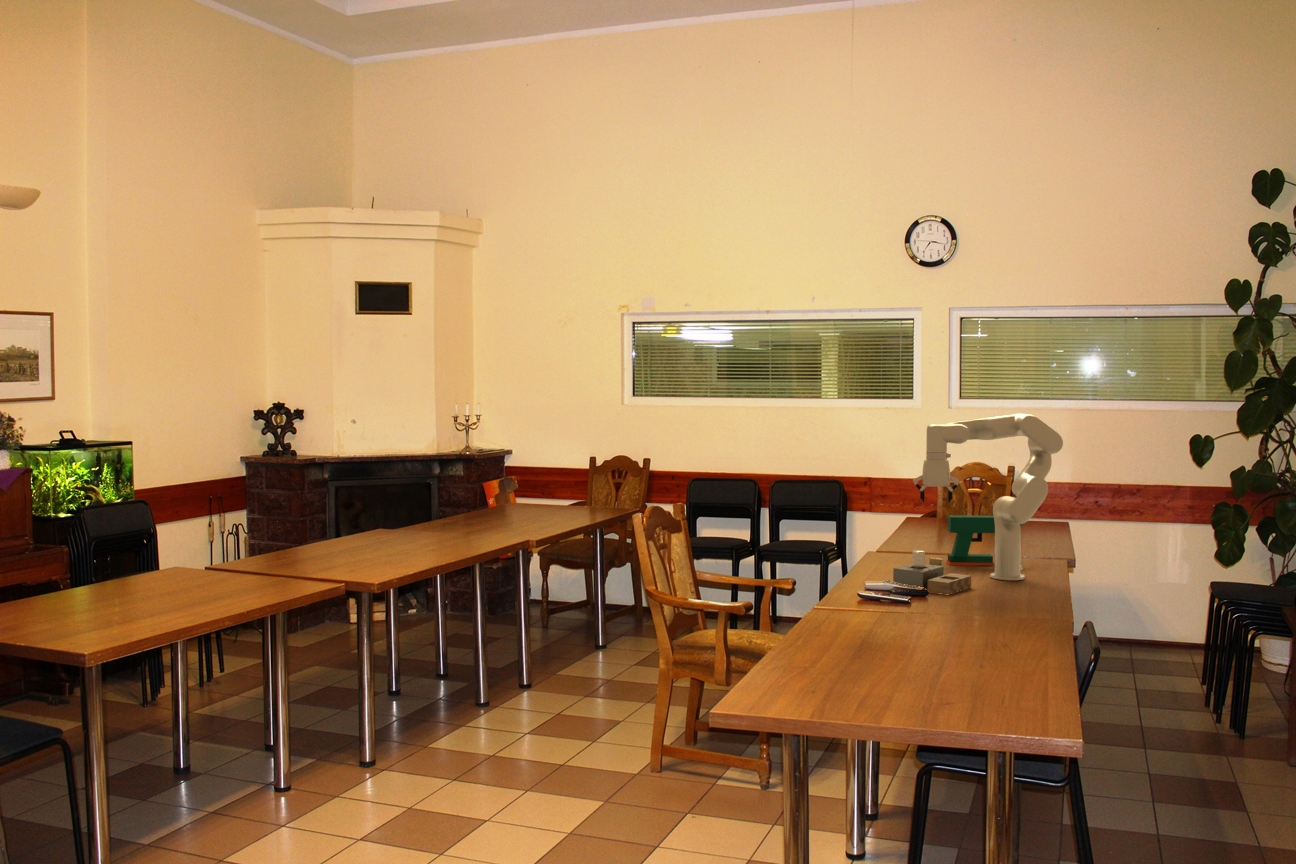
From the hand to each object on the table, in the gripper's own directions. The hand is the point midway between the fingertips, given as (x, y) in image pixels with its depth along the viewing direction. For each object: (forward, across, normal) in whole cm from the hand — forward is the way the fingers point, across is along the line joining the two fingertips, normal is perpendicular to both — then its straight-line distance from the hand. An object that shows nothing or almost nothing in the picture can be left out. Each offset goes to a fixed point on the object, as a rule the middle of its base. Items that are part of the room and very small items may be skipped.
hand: (936, 501), depth 405 cm
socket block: (+30, +7, +12) cm, 34 cm away
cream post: (+30, +7, +12) cm, 34 cm away
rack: (+30, -3, +19) cm, 36 cm away
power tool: (+30, -25, -41) cm, 57 cm away
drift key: (+29, +1, +3) cm, 29 cm away
